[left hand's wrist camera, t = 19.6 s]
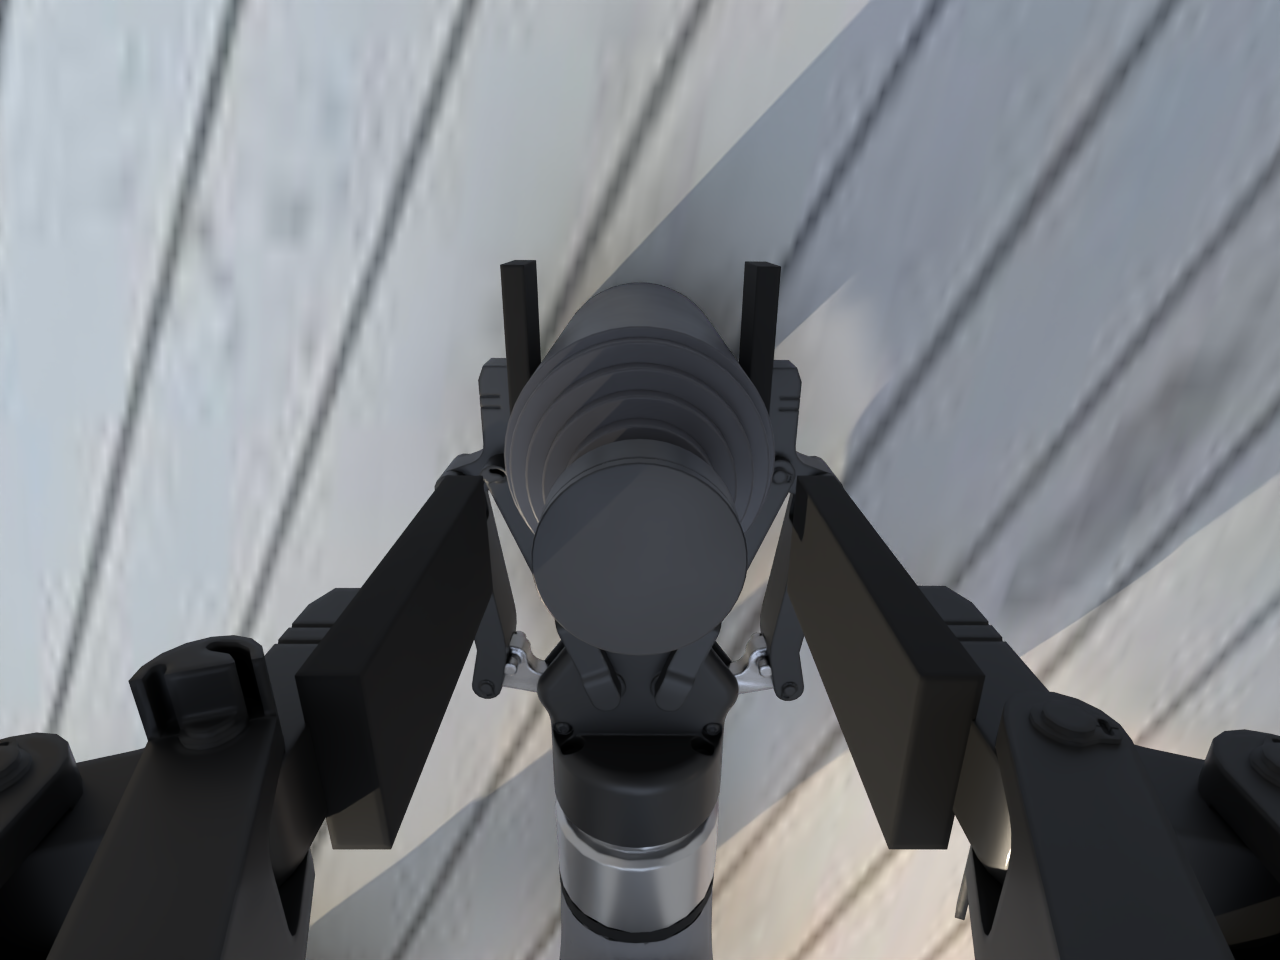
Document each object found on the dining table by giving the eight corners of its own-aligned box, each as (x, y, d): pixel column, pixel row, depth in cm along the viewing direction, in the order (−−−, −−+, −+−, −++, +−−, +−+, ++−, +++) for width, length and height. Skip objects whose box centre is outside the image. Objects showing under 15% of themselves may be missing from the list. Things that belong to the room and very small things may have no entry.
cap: (619, 397, 13) (616, 418, 12) (778, 514, 14) (793, 546, 13) (503, 547, 15) (488, 583, 13) (656, 646, 16) (658, 690, 14)
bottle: (675, 470, 32) (714, 746, 15) (532, 404, 31) (404, 623, 14) (751, 329, 30) (897, 471, 13) (599, 252, 29) (542, 297, 12)
